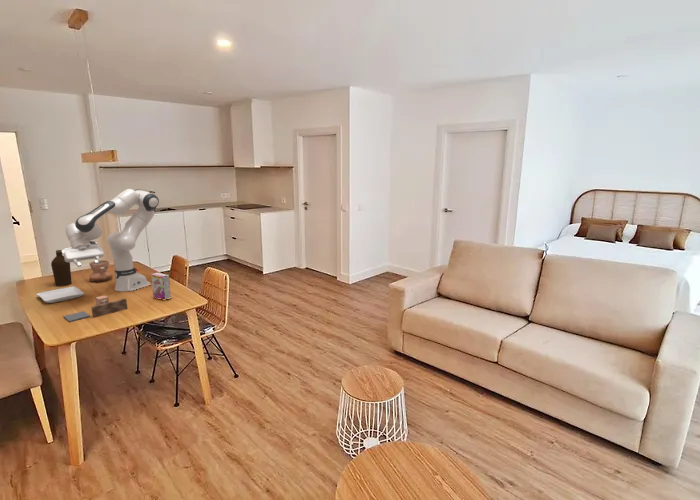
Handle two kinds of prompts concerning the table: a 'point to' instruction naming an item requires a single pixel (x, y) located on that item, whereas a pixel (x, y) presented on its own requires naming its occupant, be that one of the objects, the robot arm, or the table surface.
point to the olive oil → (61, 270)
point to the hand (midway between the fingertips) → (88, 264)
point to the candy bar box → (160, 285)
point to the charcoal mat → (76, 316)
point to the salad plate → (60, 294)
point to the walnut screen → (109, 307)
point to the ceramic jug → (100, 271)
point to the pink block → (101, 300)
